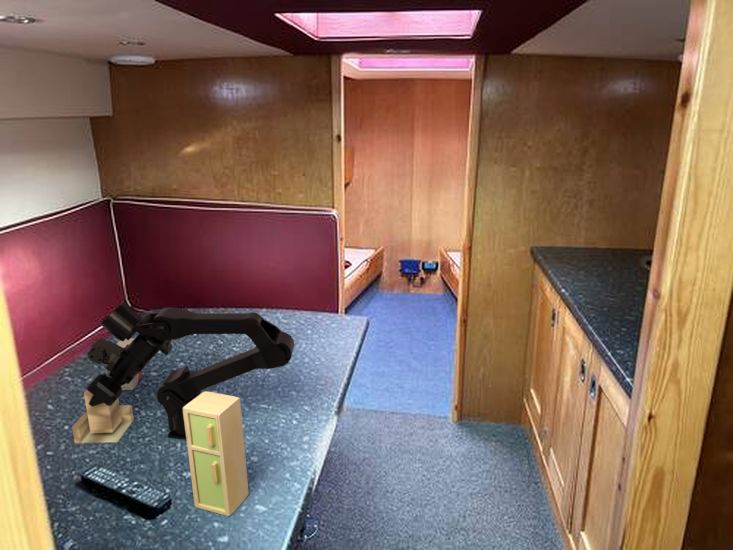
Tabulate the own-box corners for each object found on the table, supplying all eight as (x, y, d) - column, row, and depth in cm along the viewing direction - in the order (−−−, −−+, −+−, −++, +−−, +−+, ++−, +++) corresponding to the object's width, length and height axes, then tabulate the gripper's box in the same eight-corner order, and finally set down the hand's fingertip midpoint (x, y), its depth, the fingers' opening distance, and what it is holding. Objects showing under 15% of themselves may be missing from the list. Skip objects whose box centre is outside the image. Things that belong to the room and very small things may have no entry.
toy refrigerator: (190, 510, 103) (179, 408, 97) (214, 486, 109) (205, 389, 104) (227, 520, 100) (217, 416, 94) (249, 495, 107) (241, 397, 101)
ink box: (125, 376, 156) (119, 337, 153) (143, 376, 156) (138, 337, 153) (114, 391, 148) (108, 350, 144) (134, 390, 148) (129, 349, 145)
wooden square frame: (133, 420, 134) (131, 405, 132) (117, 442, 124) (115, 426, 123) (93, 420, 133) (91, 405, 132) (74, 443, 124) (72, 427, 123)
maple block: (121, 420, 130) (115, 382, 127) (112, 432, 125) (106, 392, 123) (99, 421, 130) (93, 382, 127) (89, 433, 125) (82, 393, 123)
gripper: (126, 315, 130) (85, 359, 133) (90, 346, 112) (44, 397, 115) (163, 345, 133) (123, 388, 135) (134, 381, 115) (88, 429, 117)
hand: (95, 399), depth 126 cm, fingers closed on maple block, 5 cm apart
